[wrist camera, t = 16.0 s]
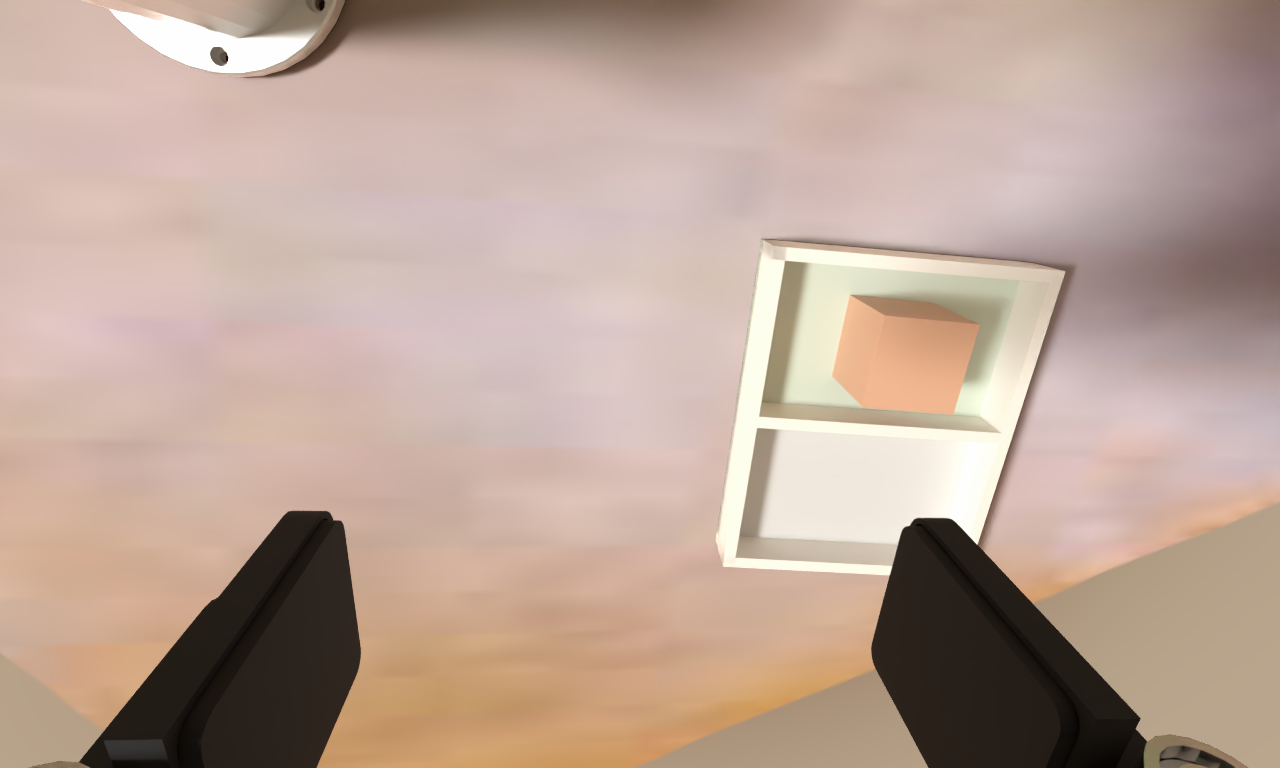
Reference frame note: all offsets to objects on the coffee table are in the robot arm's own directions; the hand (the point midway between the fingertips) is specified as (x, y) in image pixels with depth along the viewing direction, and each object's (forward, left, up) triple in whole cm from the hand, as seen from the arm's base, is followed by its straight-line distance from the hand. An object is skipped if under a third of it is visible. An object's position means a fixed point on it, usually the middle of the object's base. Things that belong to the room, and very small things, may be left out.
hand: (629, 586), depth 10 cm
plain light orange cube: (+2, +16, -26) cm, 31 cm away
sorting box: (+7, +16, -27) cm, 32 cm away
